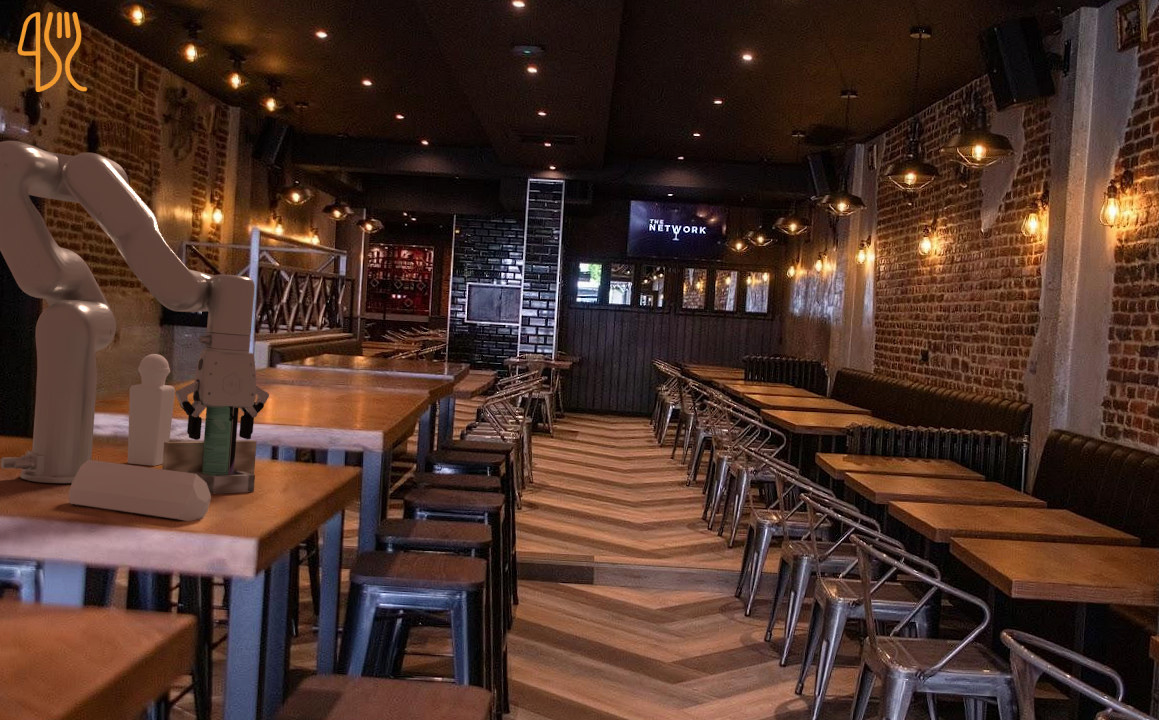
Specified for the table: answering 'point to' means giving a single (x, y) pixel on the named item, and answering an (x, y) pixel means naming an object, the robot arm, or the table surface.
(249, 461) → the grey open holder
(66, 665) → the table surface
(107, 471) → the chamfered beige bar
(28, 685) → the table surface
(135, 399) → the beige square bottle
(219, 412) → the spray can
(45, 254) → the robot arm
